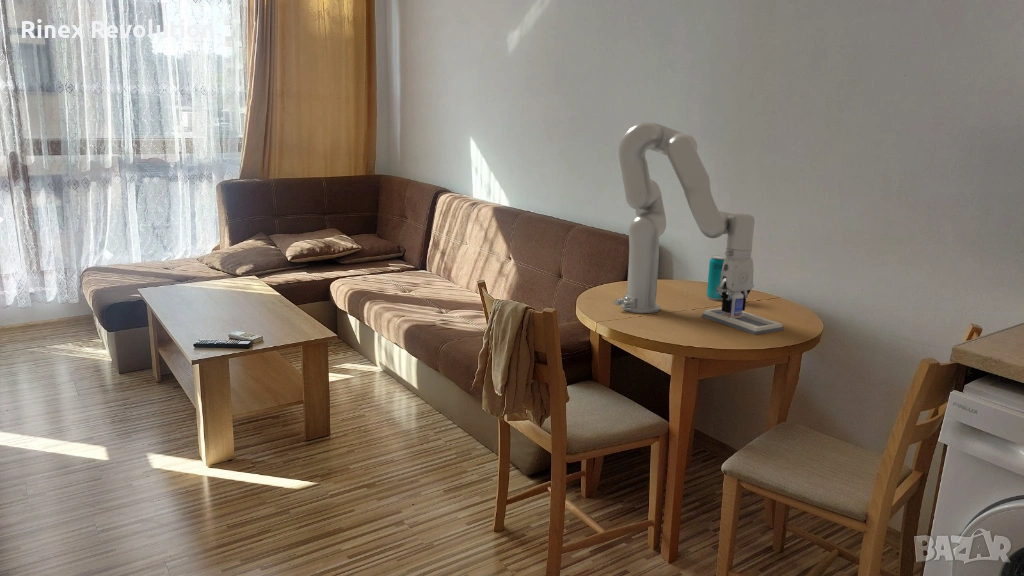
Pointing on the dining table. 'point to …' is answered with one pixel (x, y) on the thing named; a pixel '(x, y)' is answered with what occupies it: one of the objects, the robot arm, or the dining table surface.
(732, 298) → the pill bottle
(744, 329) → the grey flat rectangular tray
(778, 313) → the dining table surface
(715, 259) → the beverage can
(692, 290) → the dining table surface
